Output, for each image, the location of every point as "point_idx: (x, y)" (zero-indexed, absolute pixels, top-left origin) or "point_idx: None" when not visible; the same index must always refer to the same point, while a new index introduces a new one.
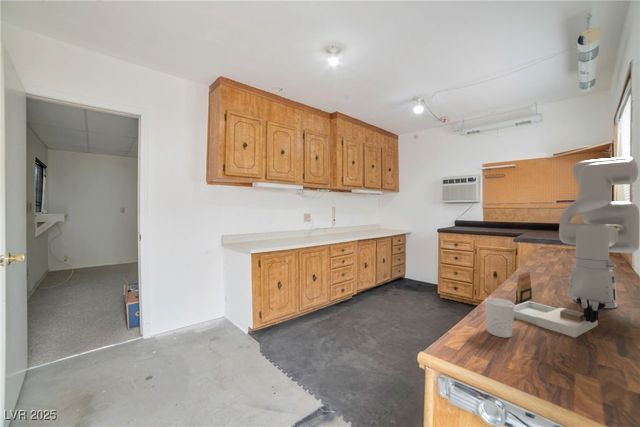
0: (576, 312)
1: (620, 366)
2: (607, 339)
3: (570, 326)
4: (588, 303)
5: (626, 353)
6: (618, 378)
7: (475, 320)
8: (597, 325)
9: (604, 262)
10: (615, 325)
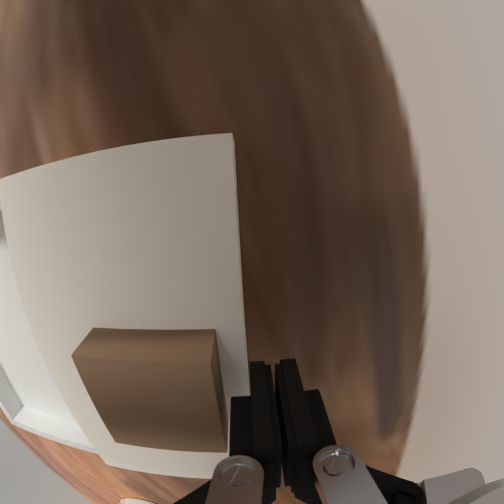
0: (163, 401)
1: None
2: (344, 357)
3: None
4: (252, 501)
5: (398, 414)
6: None
7: (72, 481)
8: (234, 143)
9: None
10: (295, 28)
